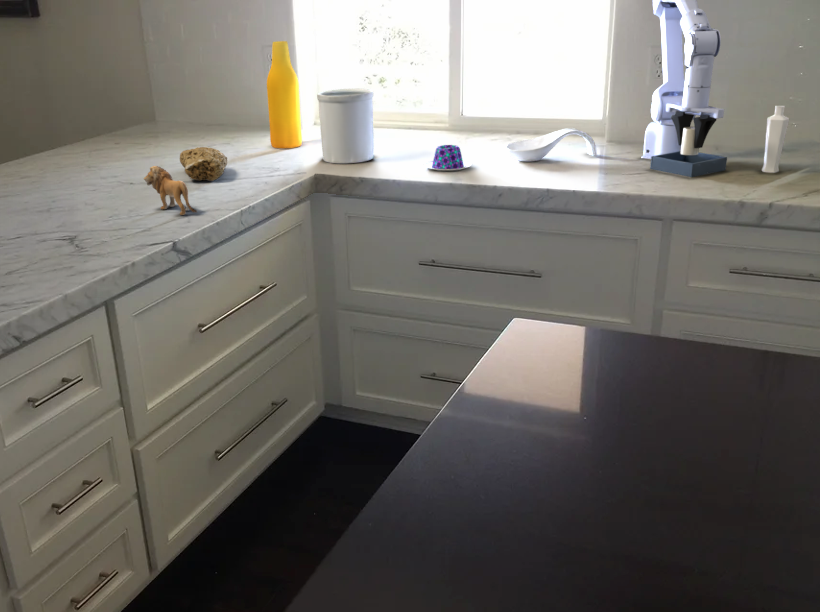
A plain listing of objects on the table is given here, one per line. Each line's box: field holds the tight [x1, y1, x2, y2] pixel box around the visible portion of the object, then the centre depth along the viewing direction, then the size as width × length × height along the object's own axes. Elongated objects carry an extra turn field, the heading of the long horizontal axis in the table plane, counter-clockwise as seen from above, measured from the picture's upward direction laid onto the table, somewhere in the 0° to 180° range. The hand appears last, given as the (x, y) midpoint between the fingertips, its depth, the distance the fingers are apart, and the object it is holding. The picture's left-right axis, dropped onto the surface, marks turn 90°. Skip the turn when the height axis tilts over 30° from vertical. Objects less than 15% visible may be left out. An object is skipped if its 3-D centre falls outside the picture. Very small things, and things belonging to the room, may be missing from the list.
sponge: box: [179, 146, 228, 182], centre depth 220 cm, size 13×8×20 cm
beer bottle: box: [266, 40, 303, 150], centre depth 249 cm, size 9×9×29 cm
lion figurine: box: [143, 165, 198, 216], centre depth 186 cm, size 15×5×9 cm, turn 50°
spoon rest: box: [504, 127, 598, 163], centre depth 224 cm, size 24×12×7 cm, turn 98°
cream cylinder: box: [680, 126, 700, 155], centre depth 203 cm, size 4×4×6 cm
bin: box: [649, 151, 728, 178], centre depth 205 cm, size 12×12×3 cm
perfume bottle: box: [761, 105, 790, 174], centre depth 199 cm, size 5×4×15 cm
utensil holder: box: [316, 88, 375, 164], centre depth 230 cm, size 15×15×18 cm
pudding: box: [423, 144, 473, 172], centre depth 218 cm, size 12×12×5 cm
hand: (690, 146), depth 204 cm, fingers closed on cream cylinder, 4 cm apart
